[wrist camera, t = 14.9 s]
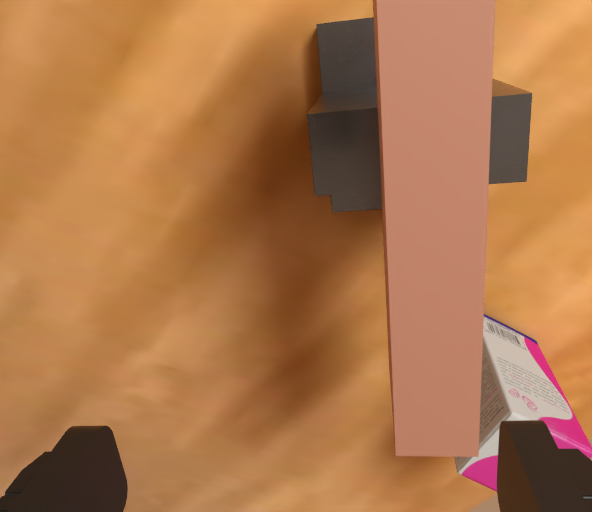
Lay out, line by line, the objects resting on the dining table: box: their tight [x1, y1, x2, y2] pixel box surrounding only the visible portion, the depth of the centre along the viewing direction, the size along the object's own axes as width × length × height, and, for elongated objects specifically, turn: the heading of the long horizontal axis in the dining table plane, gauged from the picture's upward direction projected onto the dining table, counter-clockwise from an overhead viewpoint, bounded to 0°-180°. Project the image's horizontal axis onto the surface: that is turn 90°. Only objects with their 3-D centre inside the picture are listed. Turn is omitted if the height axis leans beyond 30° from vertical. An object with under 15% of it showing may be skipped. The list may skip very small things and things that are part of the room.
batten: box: [373, 0, 495, 457], centre depth 21 cm, size 4×24×7 cm, turn 6°
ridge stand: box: [307, 17, 532, 212], centre depth 29 cm, size 10×12×11 cm
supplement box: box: [454, 314, 592, 491], centre depth 36 cm, size 6×6×12 cm
